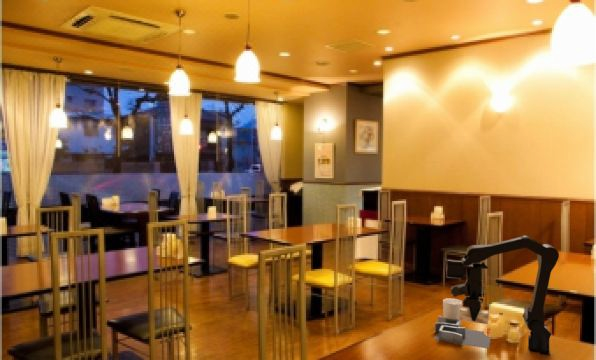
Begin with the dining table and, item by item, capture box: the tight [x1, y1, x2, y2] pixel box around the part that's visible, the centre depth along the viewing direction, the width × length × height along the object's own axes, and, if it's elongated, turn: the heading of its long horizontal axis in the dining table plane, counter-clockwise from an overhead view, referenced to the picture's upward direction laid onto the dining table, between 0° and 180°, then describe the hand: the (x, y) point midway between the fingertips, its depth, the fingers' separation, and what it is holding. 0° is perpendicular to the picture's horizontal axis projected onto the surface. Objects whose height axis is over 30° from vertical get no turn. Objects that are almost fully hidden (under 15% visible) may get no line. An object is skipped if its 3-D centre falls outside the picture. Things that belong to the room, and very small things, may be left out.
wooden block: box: [460, 306, 489, 325], centre depth 176 cm, size 10×4×4 cm, turn 64°
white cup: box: [442, 298, 463, 325], centre depth 198 cm, size 8×8×10 cm
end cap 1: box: [434, 315, 461, 334], centre depth 189 cm, size 9×10×4 cm
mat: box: [433, 328, 492, 349], centre depth 183 cm, size 20×17×1 cm
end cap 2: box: [438, 325, 466, 347], centre depth 180 cm, size 9×10×4 cm
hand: (474, 319), depth 176 cm, fingers closed on wooden block, 3 cm apart
